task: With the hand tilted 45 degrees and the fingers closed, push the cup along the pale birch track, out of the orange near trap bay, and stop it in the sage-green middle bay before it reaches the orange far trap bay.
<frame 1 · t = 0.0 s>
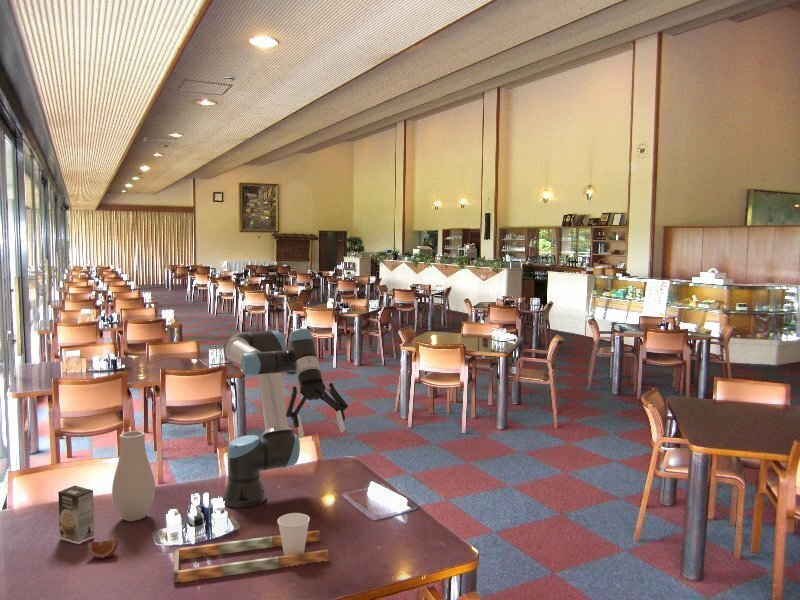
hand: (322, 433, 203), 36 cm above the table, tool tilted 35°, fingers open, 13 cm apart
cup: (294, 554, 200), on the table
coffee box: (77, 539, 210), on the table
vase: (134, 519, 226), on the table
fruit slice: (103, 556, 198), on the table
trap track: (251, 559, 196), on the table
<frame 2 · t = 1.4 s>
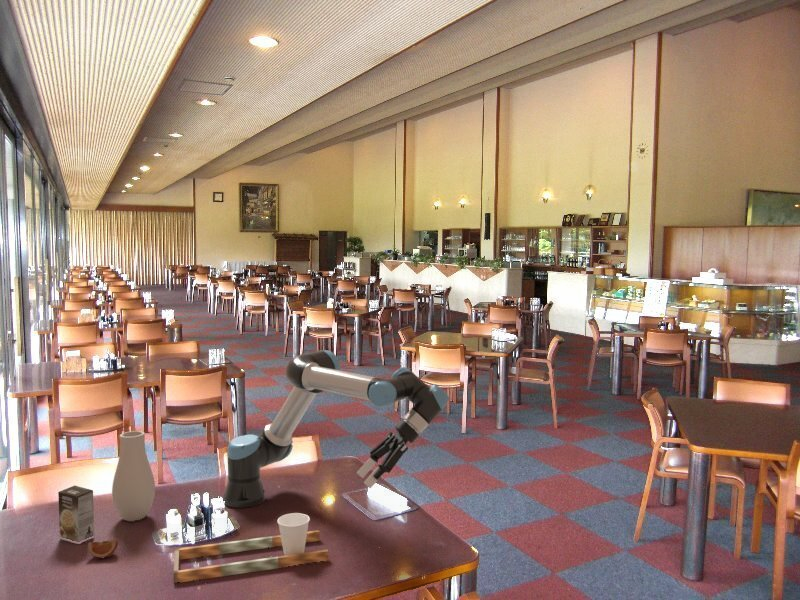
hand: (363, 480, 205), 21 cm above the table, tool tilted 45°, fingers open, 9 cm apart
nothing on the table moved.
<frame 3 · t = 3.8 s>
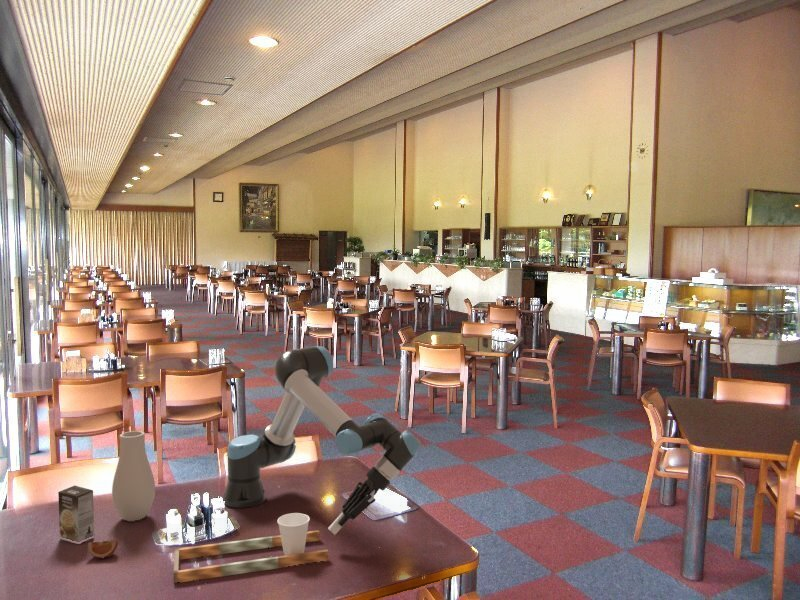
hand: (331, 531, 202), 6 cm above the table, tool tilted 45°, fingers closed
nothing on the table moved.
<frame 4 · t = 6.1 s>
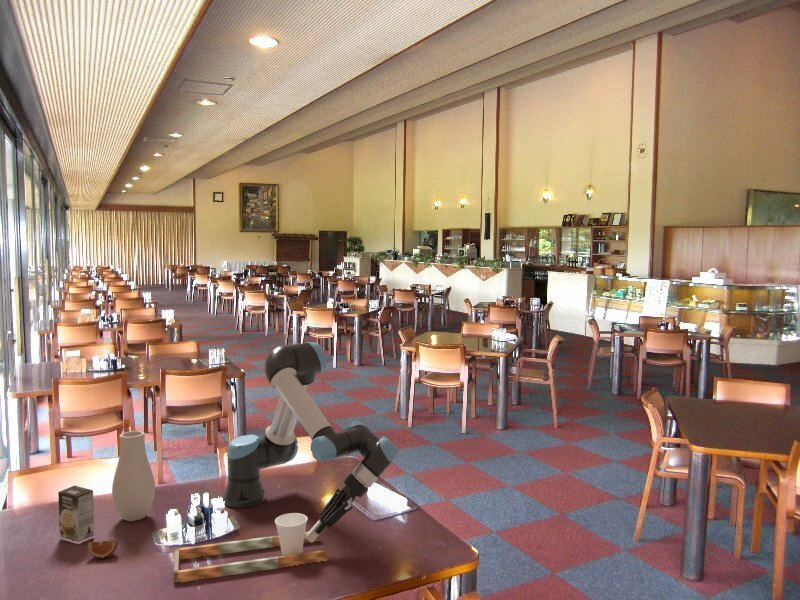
hand: (308, 539, 200), 4 cm above the table, tool tilted 45°, fingers closed
cup: (292, 554, 199), on the table, touching gripper
everything else where it was.
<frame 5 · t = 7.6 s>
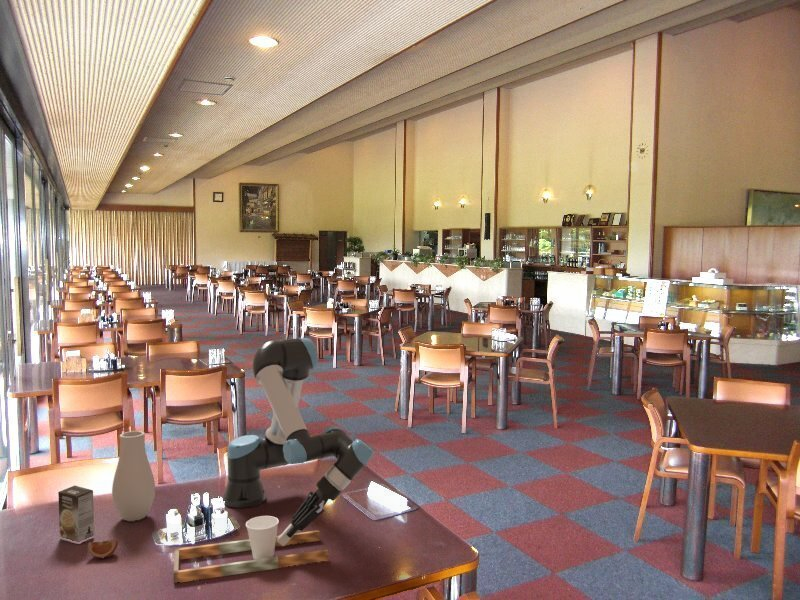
hand: (280, 543, 197), 4 cm above the table, tool tilted 45°, fingers closed
cup: (263, 557, 197), on the table, touching gripper
everything else where it was.
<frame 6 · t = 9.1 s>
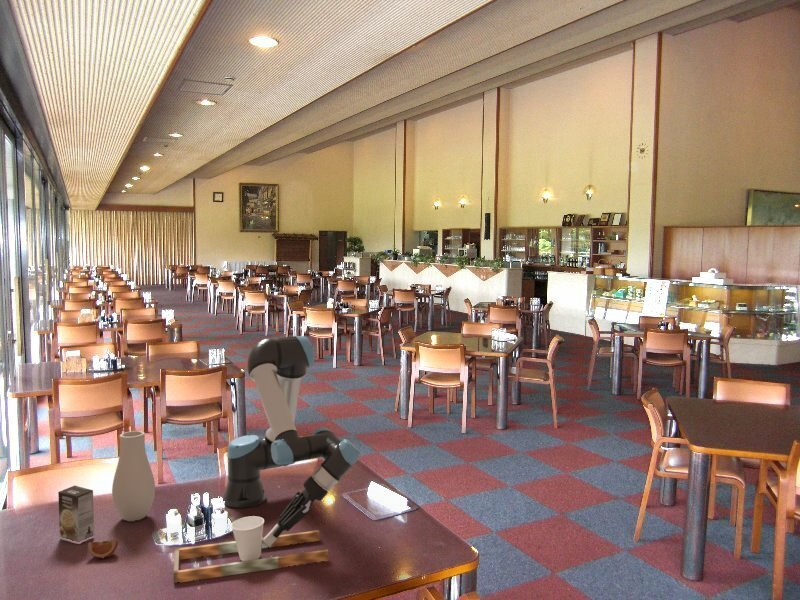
hand: (266, 543, 197), 5 cm above the table, tool tilted 45°, fingers closed
cup: (250, 558, 197), on the table, touching gripper
everything else where it was.
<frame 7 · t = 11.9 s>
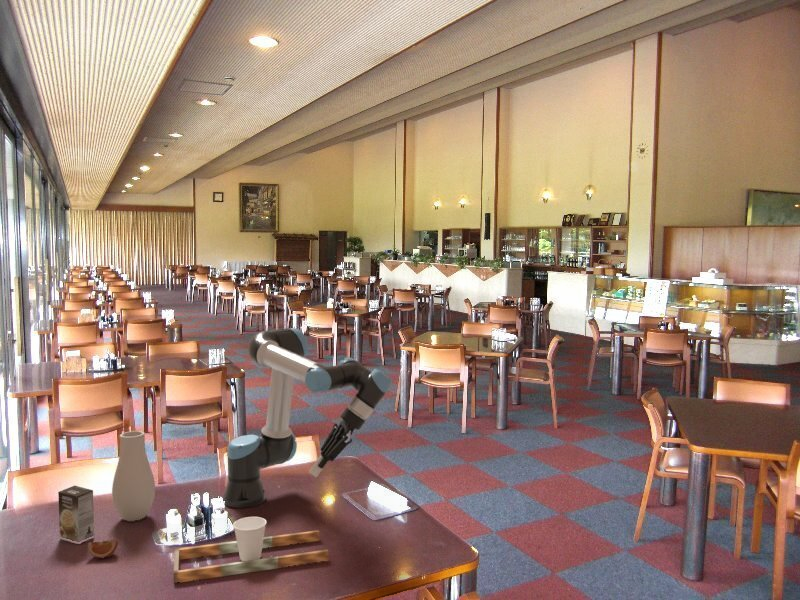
hand: (312, 474, 206), 22 cm above the table, tool tilted 35°, fingers closed
cup: (250, 559, 197), on the table
everything else where it was.
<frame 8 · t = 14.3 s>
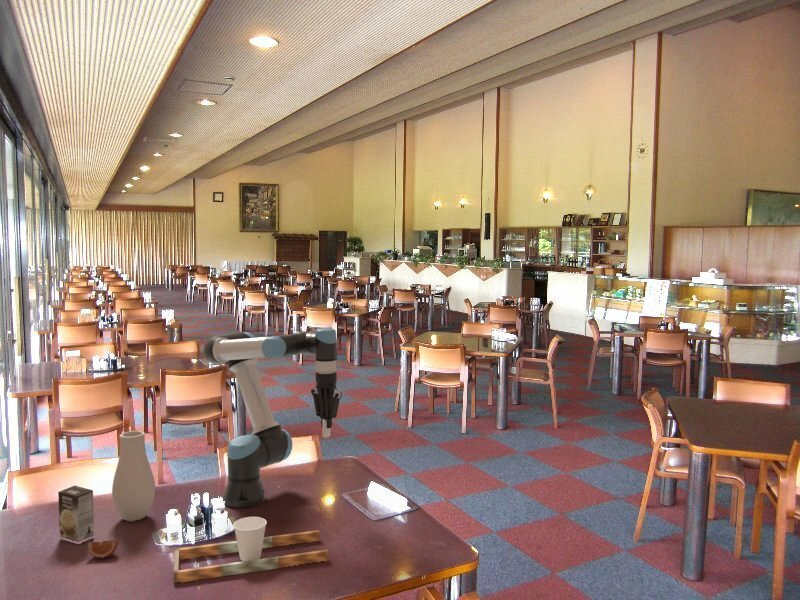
hand: (326, 436, 233), 26 cm above the table, tool pointing down, fingers closed
nothing on the table moved.
at the end: cup 1.0 cm from the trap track (horizontally); cup tilted 0°; cup moved 13.1 cm from its start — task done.
